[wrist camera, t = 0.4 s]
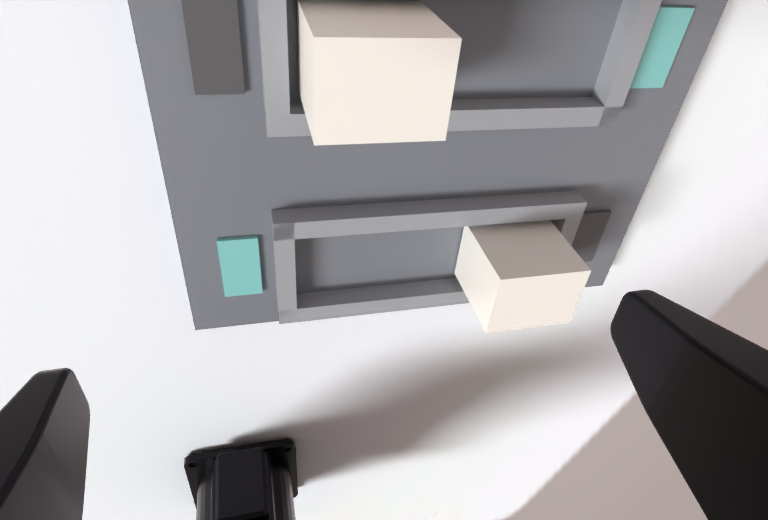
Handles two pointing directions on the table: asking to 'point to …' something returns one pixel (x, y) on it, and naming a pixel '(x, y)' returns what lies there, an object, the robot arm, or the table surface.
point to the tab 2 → (520, 275)
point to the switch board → (404, 149)
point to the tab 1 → (375, 71)
